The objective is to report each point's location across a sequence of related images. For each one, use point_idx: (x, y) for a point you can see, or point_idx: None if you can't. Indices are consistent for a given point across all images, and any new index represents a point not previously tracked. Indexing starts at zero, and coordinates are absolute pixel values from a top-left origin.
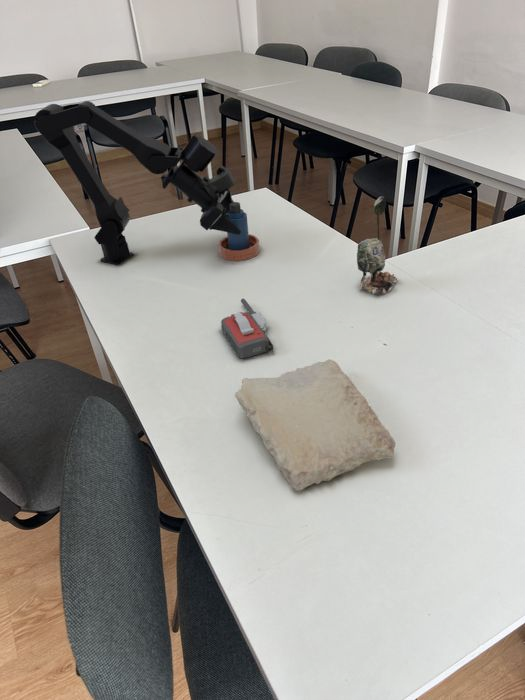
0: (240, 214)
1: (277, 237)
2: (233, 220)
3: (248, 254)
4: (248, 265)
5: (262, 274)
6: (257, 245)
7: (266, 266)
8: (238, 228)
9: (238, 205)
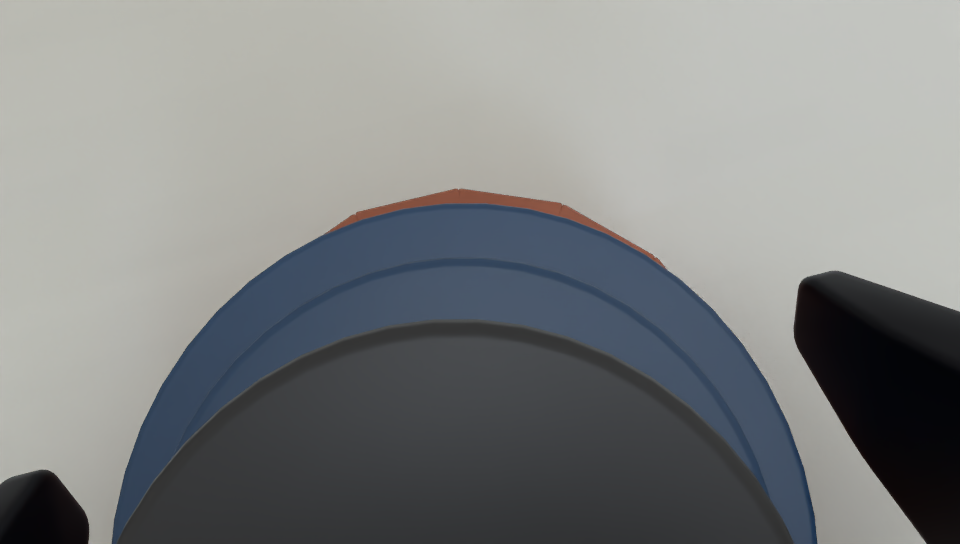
0: (623, 308)
1: (25, 157)
2: (800, 502)
3: None
4: (721, 270)
5: (860, 82)
6: (490, 198)
7: (698, 89)
8: (888, 306)
9: (605, 354)
